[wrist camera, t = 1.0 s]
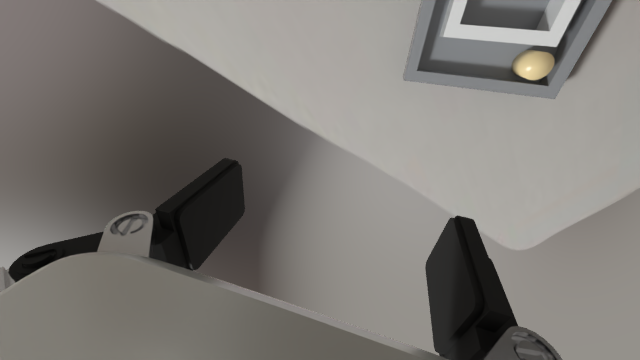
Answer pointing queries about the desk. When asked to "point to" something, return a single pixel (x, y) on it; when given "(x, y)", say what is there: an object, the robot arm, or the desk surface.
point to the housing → (501, 43)
